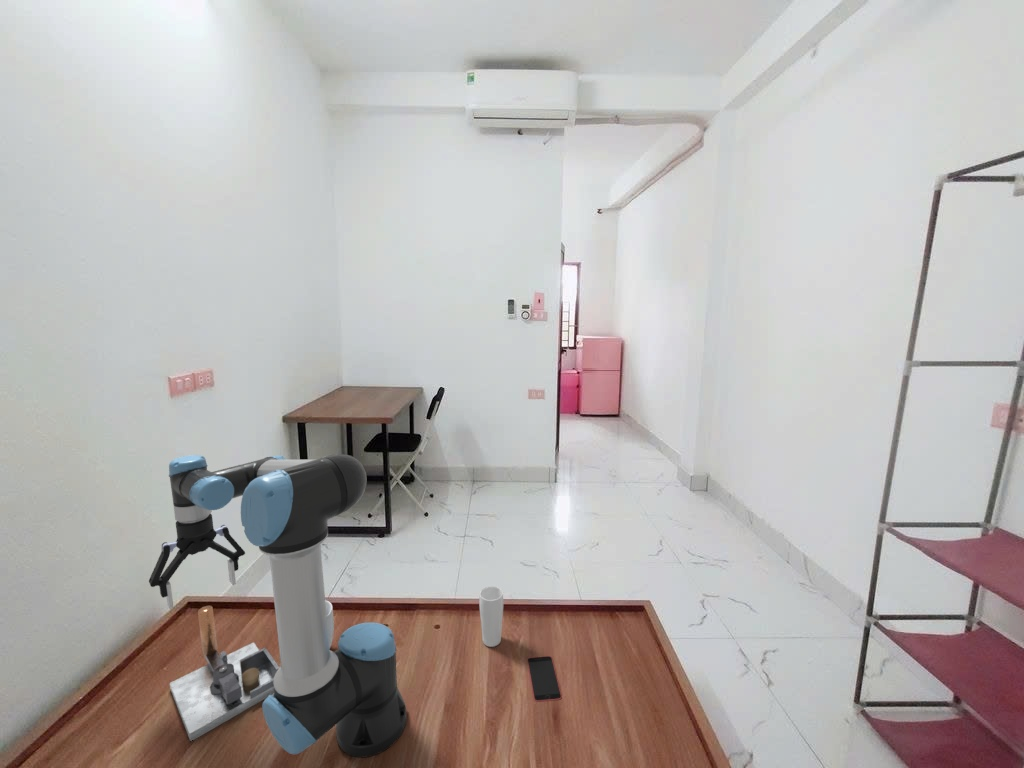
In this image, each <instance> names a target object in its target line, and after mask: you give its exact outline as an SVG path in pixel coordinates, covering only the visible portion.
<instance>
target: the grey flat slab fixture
mask: <svg viewBox="0 0 1024 768" xmlns="http://www.w3.org/2000/svg"><path fill="white" fill-rule="evenodd" d="M219 655H220V657H221V659H222V661H223V663H224V664H232V665H233V666H234V674H235V677H236V679H237V680H238V682H239V684H240V686H241V691H242V697H241V698H239V699H238V700H236V701H234V702H232V703H230V704H229V705H227V703H226V701H225V699H224V697H223V695H222V693H221V691H220V689H217V688H215V687H214V683H213V675H212V674H213V672H212V670H211V668H210V666H209V664H208V663H207V664H206V665H203V666H202V667H199V668H197V669H195V670H193V671H192V672H189V673H187V674H185V675H184V676H183V675H182V676H180V677H179V678H177V679H175V680H173V681H171V682H169V688H170V692H171V694H172V698H173V700H174V703H175V705H176V708H177V711H178V713H179V716H180V718H181V720H182V721H181V722H182V724H183V726H184V728H185V731H186V734H187V737H188V739H189V742H190V741H191V742H193V741H194V740H196V739H198V738H200V737H201V736H203V735H205V734H206V733H208V732H210V731H212V730H213V729H216V728H217V727H219V726H220V725H222V724H224V723H225V722H227V721H229V720H231V719H232V718H234V717H236V716H237V715H240V714H241V713H243V712H244V711H247V710H248V709H250V708H251V707H253V706H256V705H257V704H258V703H261V701H263V700H265V699H266V698H267V697H268V696H269V695H272V694H273V693H274V683H273V682H274V676H275V674H276V672H277V671H278V669H279V668H280V667H281V666H279V665H278V662H276V660H275V659H274V657H273V656H272V654H271V653H270V651H268V649H267V648H266V647H263V648H261V649H259V647H257V645H256V643H255V642H251V643H249V644H247V645H245V646H243V647H241V648H239V649H236V650H235V651H232V652H231V653H228V654H227V652H226V651H225V650H224V651H221V652H219ZM251 668H257V669H258V671H259V681H260V683H259V685H258V686H257V687H256V688H255V689H253V690H251V691H244V690H243V685H242V674H243V673H244V672H245V671H246V670H248V669H251ZM192 740H193V741H192Z"/></svg>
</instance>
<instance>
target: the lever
mask: <svg viewBox="0 0 1024 768" xmlns="http://www.w3.org/2000/svg"><path fill="white" fill-rule="evenodd" d="M214 616H215V615H214V609H213V606H212V605H205V606H202V607H201V608H199V609H198V610H197V617H198V624H199V625H198V626H199V632H200V641H201V649H202V655H203V656H204V659H205V661H206V662H207V665H208V664H209V666H210V668H211V670H212V672H213V674H212V675H213V683H214V687H215V688H217V689H220V691H221V693H222V695H223V697H224V699H225V701H226V703H227V705H229V704H230V703H232V702H234V701H236V700H238V699H239V698H241V697H242V691H241V686H240V684H239V682H238V680H237V679H236V677H235V674H234V666H233V665H232V664H224V663H223V661H222V659H221V657H220V653H219V652H218V642H217V632H216V624H215V617H214Z"/></svg>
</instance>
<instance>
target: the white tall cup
mask: <svg viewBox="0 0 1024 768" xmlns="http://www.w3.org/2000/svg"><path fill="white" fill-rule="evenodd" d="M478 599H479V600H478V601H479V602H478V604H479V615H480V616H479V617H480V618H479V619H480V625H481V634H482V635H481V636H482V637H481V639H482V643H483V644H484V645H485V646H487V647H491V648H494V647H496V646H498V645H499V644H500V643H501V642H502V641H501V640H502V626H503V617H504V616H503V614H504V592H503V589H501V588H500V587H498V586H493V585H491V586H485V587H484V588H482V589H481V590H480V591H479V598H478Z"/></svg>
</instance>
